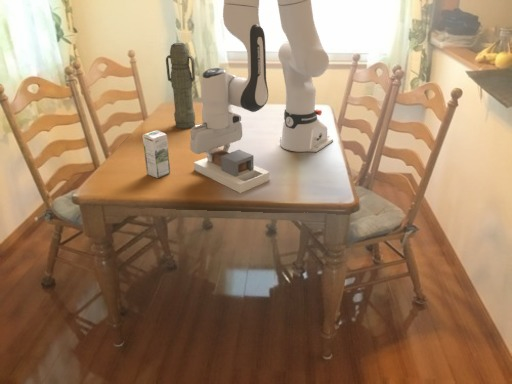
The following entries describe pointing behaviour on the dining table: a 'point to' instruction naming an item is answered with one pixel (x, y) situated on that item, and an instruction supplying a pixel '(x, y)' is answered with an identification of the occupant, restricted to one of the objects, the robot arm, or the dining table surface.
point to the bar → (217, 159)
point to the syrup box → (156, 153)
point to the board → (233, 171)
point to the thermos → (182, 85)
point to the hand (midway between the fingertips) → (217, 158)
